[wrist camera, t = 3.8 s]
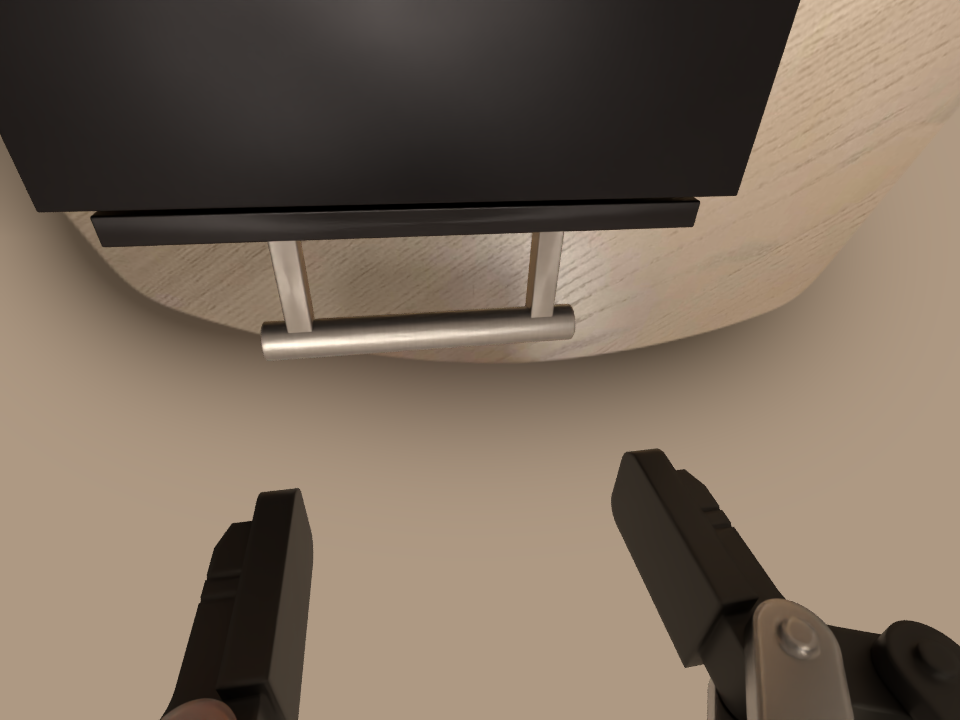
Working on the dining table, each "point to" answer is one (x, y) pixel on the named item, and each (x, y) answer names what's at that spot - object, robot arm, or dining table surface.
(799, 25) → the dining table surface
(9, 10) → the oven
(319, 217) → the oven door
